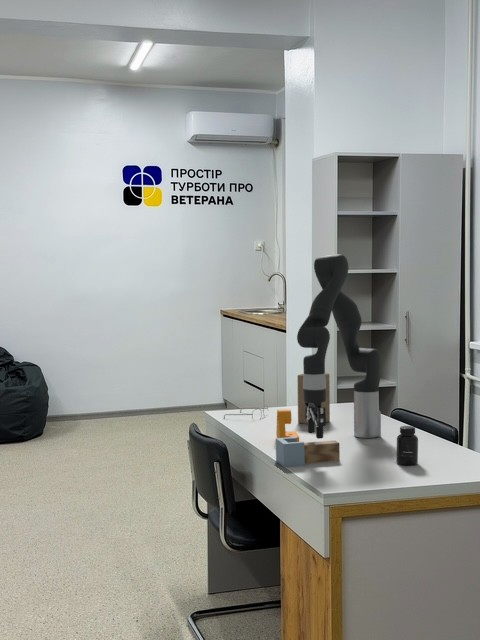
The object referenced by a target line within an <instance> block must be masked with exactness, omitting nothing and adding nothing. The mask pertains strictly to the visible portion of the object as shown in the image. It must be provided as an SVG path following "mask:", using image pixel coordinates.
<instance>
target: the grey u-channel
mask: <svg viewBox="0 0 480 640" xmlns="http://www.w3.org/2000/svg"><path fill="white" fill-rule="evenodd" d="M304 443H305V442H304V441H299V442H297V437H288V438H277V437H276V438H275V461H276V462H277V463H278V464H280V465H281V466H282V467H284V468H286V467H287V468H289V467H302V466H305V465H306V463H305V456H304Z"/></svg>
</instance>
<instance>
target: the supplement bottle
mask: <svg viewBox="0 0 480 640" xmlns="http://www.w3.org/2000/svg"><path fill="white" fill-rule="evenodd" d="M418 460H419V438H418V436H417V435H416V427H414V426H413V425H401V426H400V427H399V434H398V435H397V437H396V463H397V464H398V465H400V466H405V467H406V466H407V467H411V466H417V465H418V462H419V461H418Z"/></svg>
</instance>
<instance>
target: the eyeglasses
mask: <svg viewBox="0 0 480 640" xmlns="http://www.w3.org/2000/svg"><path fill="white" fill-rule="evenodd" d="M242 410H254V411H257V410H260V411H262V412H260V416H262V413H263V417H266V415H265V410H269V406H268V405H265V406H264V407H252V408H251V407H248V408H247V407H246V408H245V407H242V408H240V411H239V413H236V414H235V413H229V414H227V413H225V414H224V415H223V419H226V417H225V416H251V418H252V420H254V417H253V414H254V411H252V412H251V413H245V414H244V413H243V414H242ZM259 419H262V417H260V418H259Z"/></svg>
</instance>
